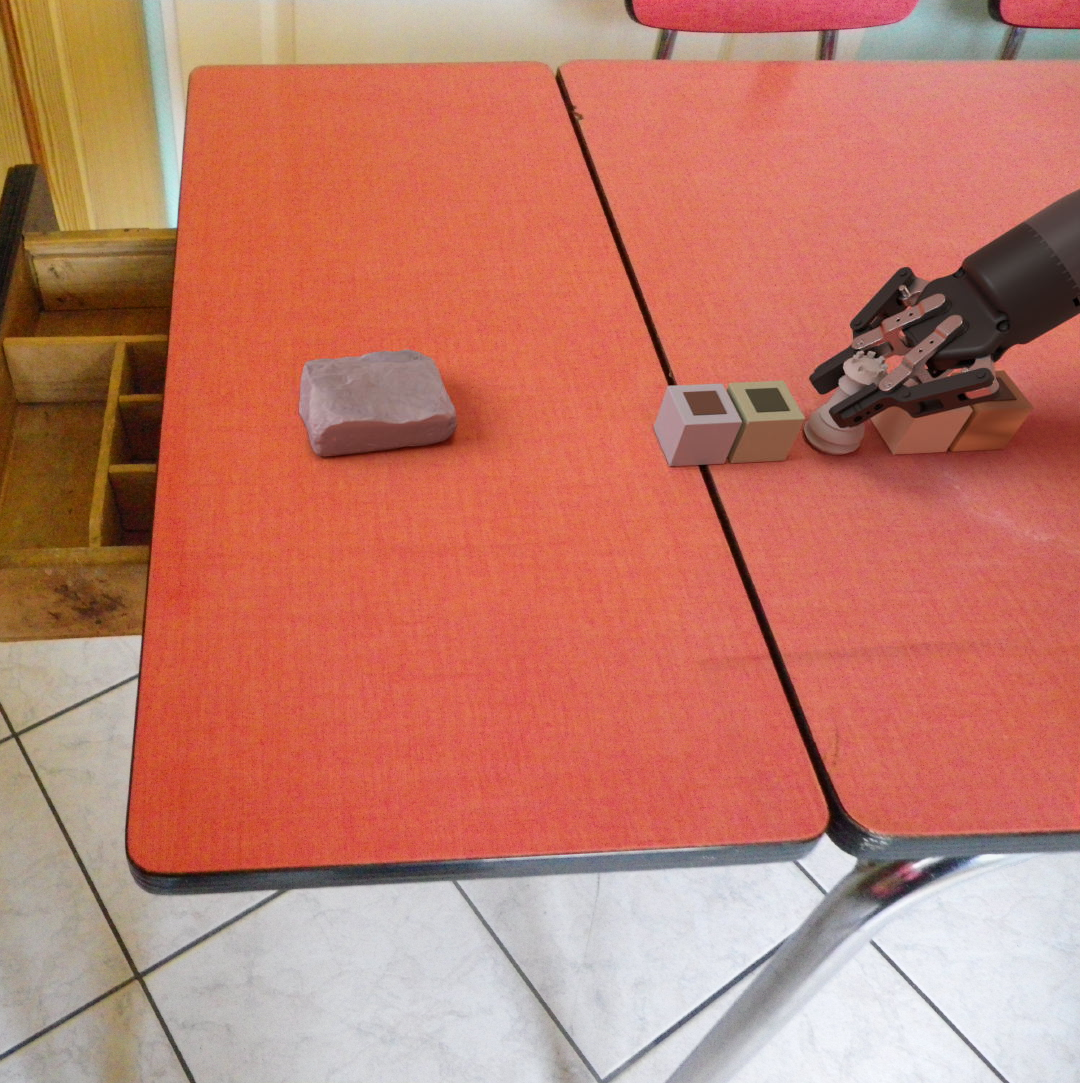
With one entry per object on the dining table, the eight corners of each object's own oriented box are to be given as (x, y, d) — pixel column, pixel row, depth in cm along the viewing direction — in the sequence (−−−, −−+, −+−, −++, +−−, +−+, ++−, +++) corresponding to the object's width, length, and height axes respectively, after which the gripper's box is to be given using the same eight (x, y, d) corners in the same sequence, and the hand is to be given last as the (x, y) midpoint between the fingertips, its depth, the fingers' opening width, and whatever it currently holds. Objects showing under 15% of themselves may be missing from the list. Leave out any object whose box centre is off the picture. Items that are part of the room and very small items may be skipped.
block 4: (976, 411, 83) (1005, 368, 80) (1004, 449, 80) (1035, 406, 77) (925, 414, 83) (952, 371, 79) (951, 452, 80) (980, 409, 76)
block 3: (919, 414, 83) (946, 371, 79) (945, 452, 80) (974, 409, 76) (868, 417, 82) (892, 374, 79) (892, 455, 80) (918, 412, 76)
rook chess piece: (793, 442, 80) (831, 365, 74) (812, 412, 83) (850, 335, 77) (848, 465, 79) (892, 388, 72) (865, 434, 81) (909, 357, 75)
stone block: (292, 402, 84) (312, 466, 77) (291, 350, 81) (311, 411, 74) (427, 390, 86) (459, 452, 79) (431, 340, 83) (465, 398, 76)
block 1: (706, 425, 81) (723, 381, 78) (724, 464, 78) (743, 420, 75) (652, 427, 81) (667, 384, 77) (669, 466, 78) (685, 423, 74)
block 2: (764, 422, 82) (784, 379, 78) (785, 460, 79) (806, 417, 75) (712, 424, 81) (729, 381, 78) (730, 463, 78) (749, 420, 75)
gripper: (989, 176, 71) (769, 321, 80) (1103, 293, 62) (842, 443, 71) (1020, 238, 76) (808, 370, 84) (1130, 356, 67) (881, 490, 75)
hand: (825, 402), depth 77 cm, fingers closed on rook chess piece, 3 cm apart
